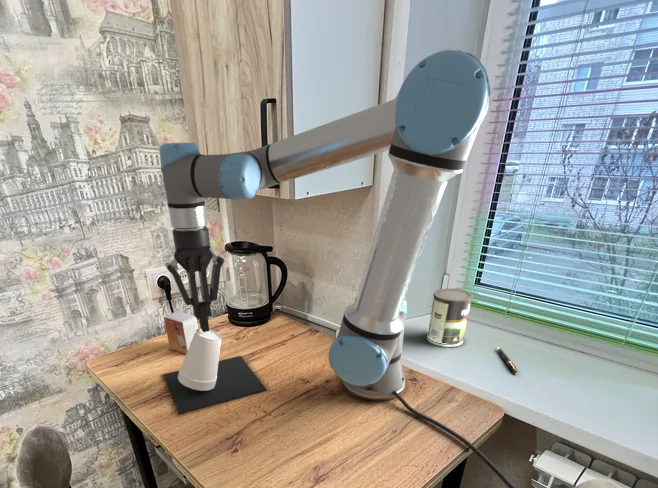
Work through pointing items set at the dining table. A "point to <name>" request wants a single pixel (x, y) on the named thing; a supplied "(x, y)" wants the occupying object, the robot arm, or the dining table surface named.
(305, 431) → the dining table surface
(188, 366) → the foam cup
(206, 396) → the mat
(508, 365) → the fountain pen
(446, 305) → the coffee can
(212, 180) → the robot arm
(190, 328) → the small box
